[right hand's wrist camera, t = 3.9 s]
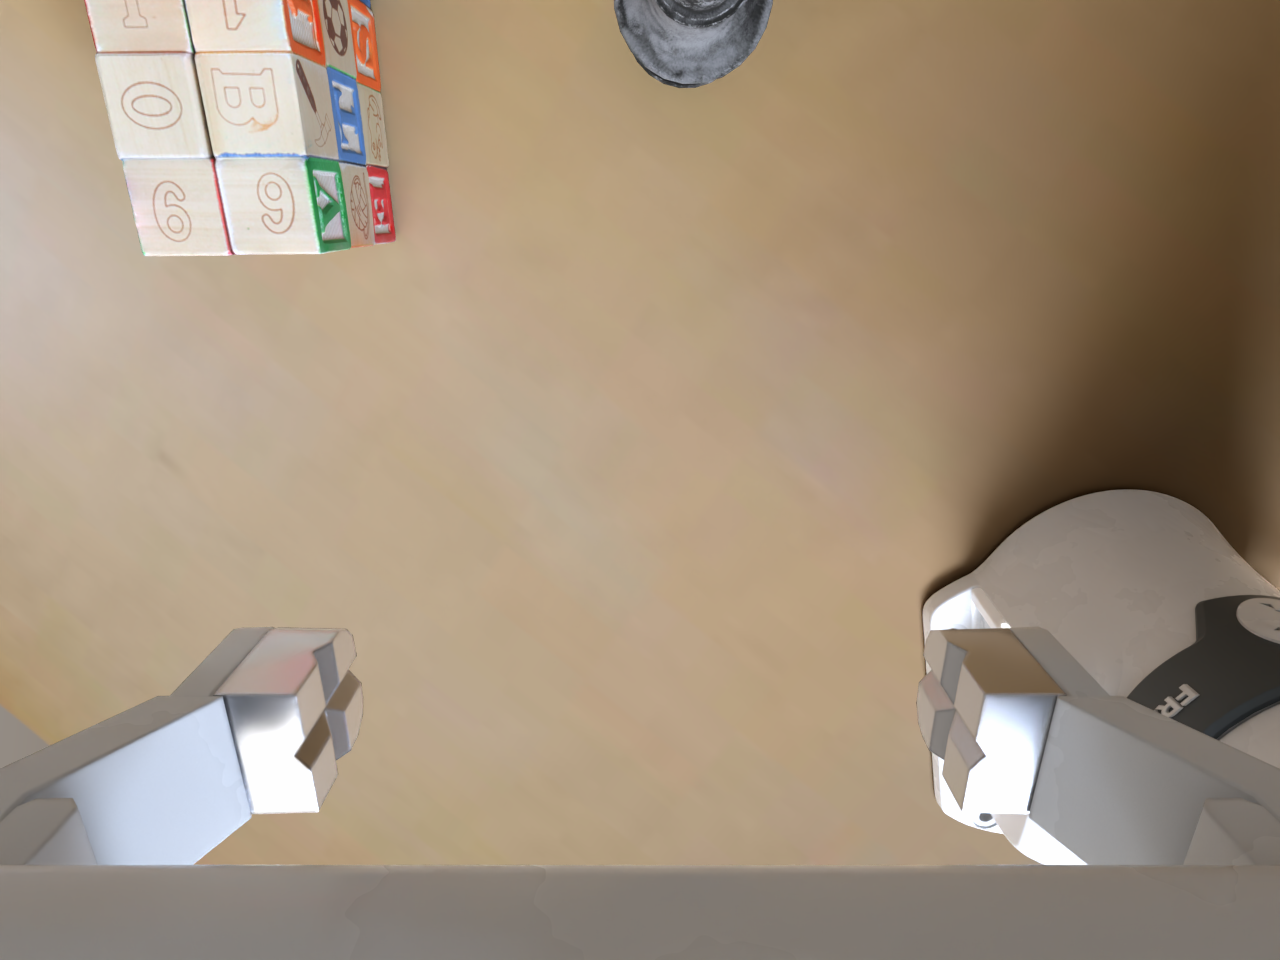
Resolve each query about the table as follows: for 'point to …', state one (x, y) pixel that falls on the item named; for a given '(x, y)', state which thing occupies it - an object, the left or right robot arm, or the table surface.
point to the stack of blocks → (246, 123)
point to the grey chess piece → (691, 36)
